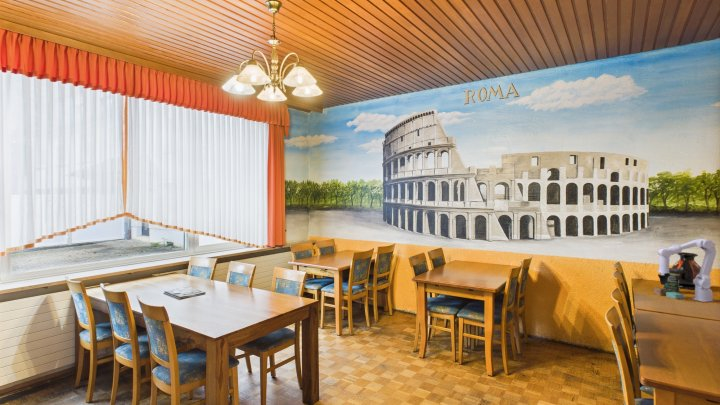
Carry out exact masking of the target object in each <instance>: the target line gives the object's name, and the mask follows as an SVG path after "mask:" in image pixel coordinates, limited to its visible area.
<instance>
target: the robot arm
mask: <svg viewBox="0 0 720 405" xmlns="http://www.w3.org/2000/svg"><path fill="white" fill-rule="evenodd" d="M715 245H716V244H715V242H713V240H711V239H705V238H701V237H700V238H696V239H693V240H690V241H688V242H686V243H682V244H680V245H678V244H672V246H668V247H665V248H660V249H659V250H658V251H657V255H659V256H658V257H659V258H658V259H659V260H658V263H659V265H658V270H656V272H659V273H658V274H657V276H658V279H659V283H660V284H661V285H663V286H664V285H665V283H667V279H668V276H669V275H670V273H669V268H670V257H671V256H672V255H676V254H677V253H680V252H682V251H684V250H686V249H687V250H688V249H689V248H690V249H691V248H694V247H698V248H699V249H702V251H703V252H704V257H703V260H702V264H701V266H700V267H701V270H700V273H699V274H698V275H697V276H696V278H695V279H694V280H693V283H694V284H695V290H694V297H691V300H694V301H699V302H701V303H703V302H714V300H713V290H712V289H711V287H712V282H711V281H712V279H711V276H710V275H711V272H712V268H713V265H714V262H715V259H716V255H717V249H716V247H715Z"/></svg>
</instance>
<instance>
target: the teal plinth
mask: <svg viewBox="0 0 720 405" xmlns="http://www.w3.org/2000/svg"><path fill="white" fill-rule="evenodd" d="M666 297H667V298H671V299H674V300H683V299H685V294H683V293H680V292H679V293H676V292H666Z"/></svg>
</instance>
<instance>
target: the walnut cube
mask: <svg viewBox="0 0 720 405" xmlns="http://www.w3.org/2000/svg"><path fill="white" fill-rule="evenodd" d="M653 295H657V296H658V297H665V296H666V289H664V288H663V287H658V286H657V287H653ZM666 297H667V296H666Z"/></svg>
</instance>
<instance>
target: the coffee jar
mask: <svg viewBox="0 0 720 405" xmlns="http://www.w3.org/2000/svg"><path fill="white" fill-rule="evenodd" d="M669 273H670V275H669V276H668V279H667V283H665V285H663V286H662V288H664V289H666V292H676V293H680V288H679V276H680V271H679V269H675V268H671V267H669Z"/></svg>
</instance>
